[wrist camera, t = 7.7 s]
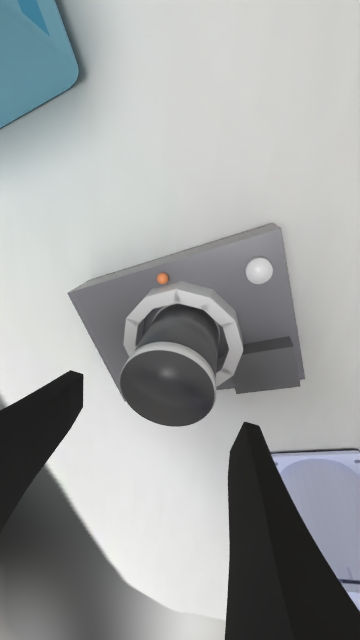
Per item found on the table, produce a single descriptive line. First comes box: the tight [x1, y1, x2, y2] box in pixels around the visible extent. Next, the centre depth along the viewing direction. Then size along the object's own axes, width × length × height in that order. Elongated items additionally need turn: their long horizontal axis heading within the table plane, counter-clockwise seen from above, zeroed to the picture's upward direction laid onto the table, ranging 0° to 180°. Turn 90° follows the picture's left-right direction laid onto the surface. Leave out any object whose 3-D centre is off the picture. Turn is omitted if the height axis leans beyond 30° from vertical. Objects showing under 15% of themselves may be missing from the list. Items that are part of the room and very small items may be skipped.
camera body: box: [68, 223, 305, 402], centre depth 17 cm, size 10×14×4 cm
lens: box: [120, 303, 220, 426], centre depth 14 cm, size 4×4×6 cm
